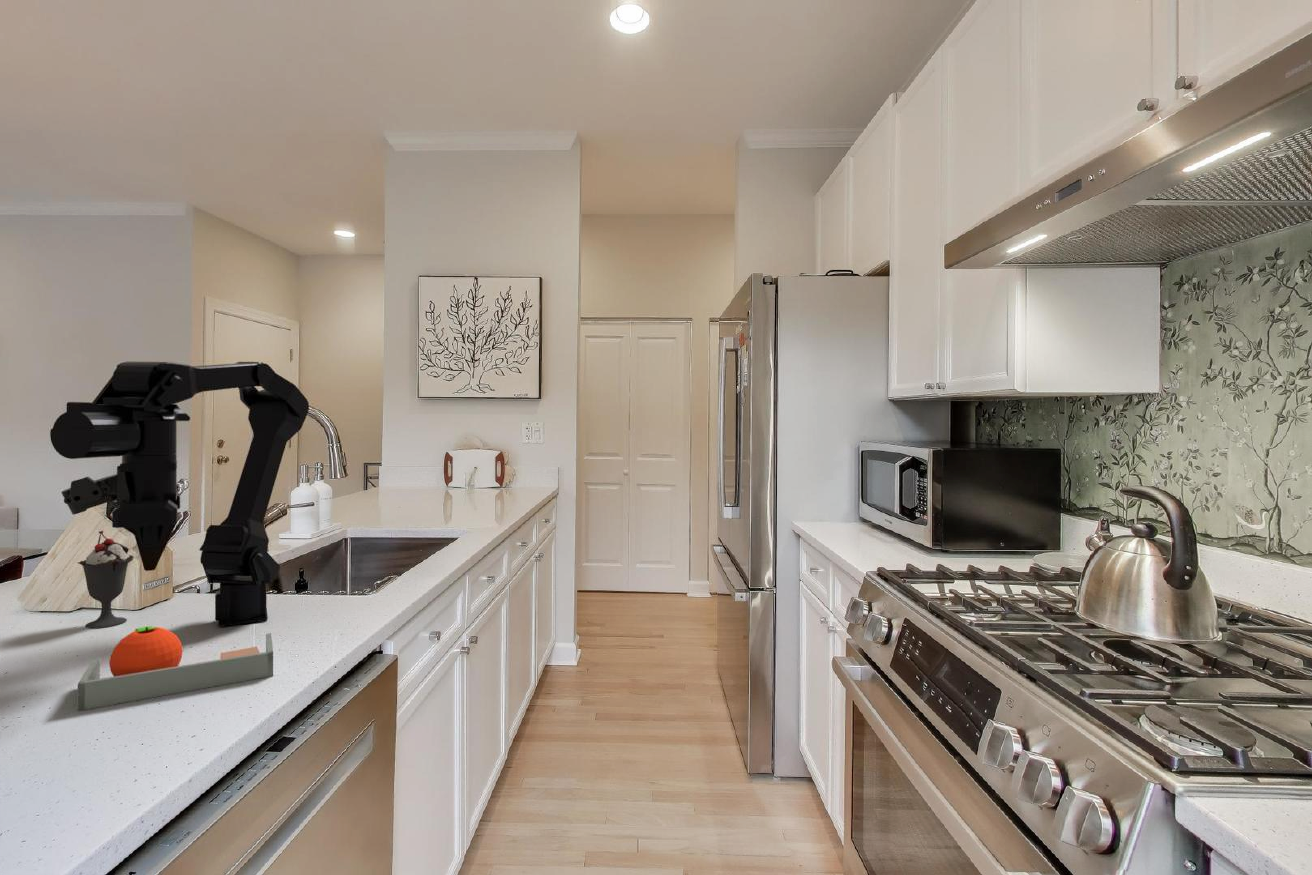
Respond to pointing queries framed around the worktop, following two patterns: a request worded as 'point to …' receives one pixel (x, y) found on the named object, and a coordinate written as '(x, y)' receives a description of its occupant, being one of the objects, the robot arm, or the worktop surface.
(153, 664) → the clementine
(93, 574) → the sundae
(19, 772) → the worktop surface
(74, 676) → the worktop surface
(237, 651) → the tile
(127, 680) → the tray
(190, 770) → the worktop surface
